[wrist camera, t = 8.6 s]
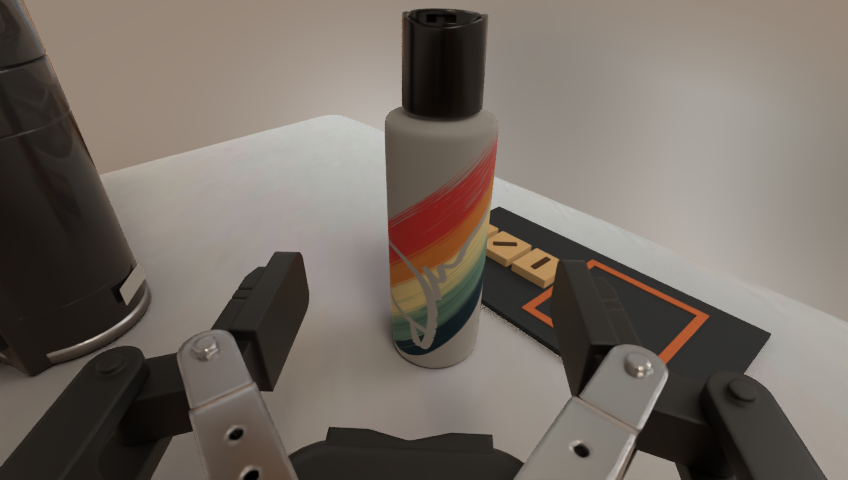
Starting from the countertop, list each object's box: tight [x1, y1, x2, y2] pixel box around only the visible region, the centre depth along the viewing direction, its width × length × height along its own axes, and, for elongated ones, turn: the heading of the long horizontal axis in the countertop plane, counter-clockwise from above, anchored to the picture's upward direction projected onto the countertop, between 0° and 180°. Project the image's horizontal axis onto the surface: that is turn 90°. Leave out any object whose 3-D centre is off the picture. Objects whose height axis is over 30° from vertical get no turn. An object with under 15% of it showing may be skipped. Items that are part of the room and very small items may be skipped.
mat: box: [481, 207, 771, 382], centre depth 34 cm, size 24×12×1 cm, turn 41°
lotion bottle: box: [385, 9, 498, 368], centre depth 25 cm, size 6×6×20 cm
